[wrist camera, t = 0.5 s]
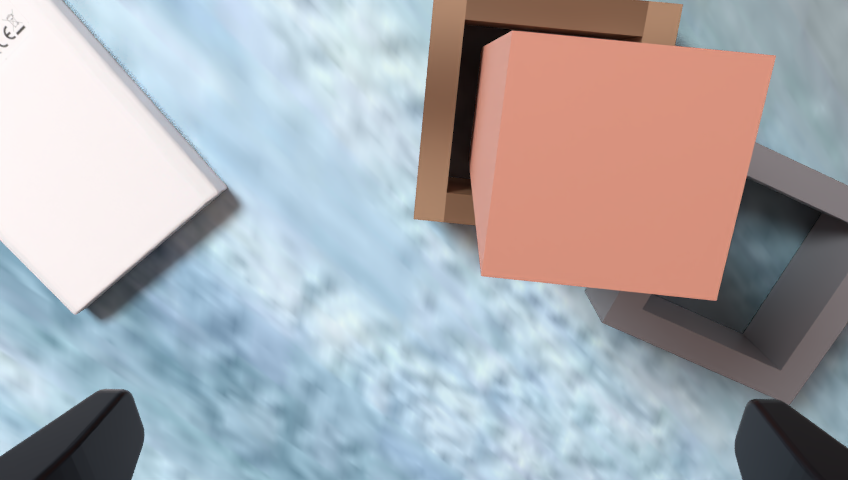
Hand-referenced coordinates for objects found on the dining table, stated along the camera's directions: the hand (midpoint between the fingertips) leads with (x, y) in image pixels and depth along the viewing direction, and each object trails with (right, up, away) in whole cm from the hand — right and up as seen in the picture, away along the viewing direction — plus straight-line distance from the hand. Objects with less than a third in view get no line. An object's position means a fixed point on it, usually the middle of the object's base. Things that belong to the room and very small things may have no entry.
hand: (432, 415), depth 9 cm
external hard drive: (-15, +7, +15) cm, 22 cm away
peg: (+4, +7, +13) cm, 16 cm away
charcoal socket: (+11, +2, +14) cm, 18 cm away
